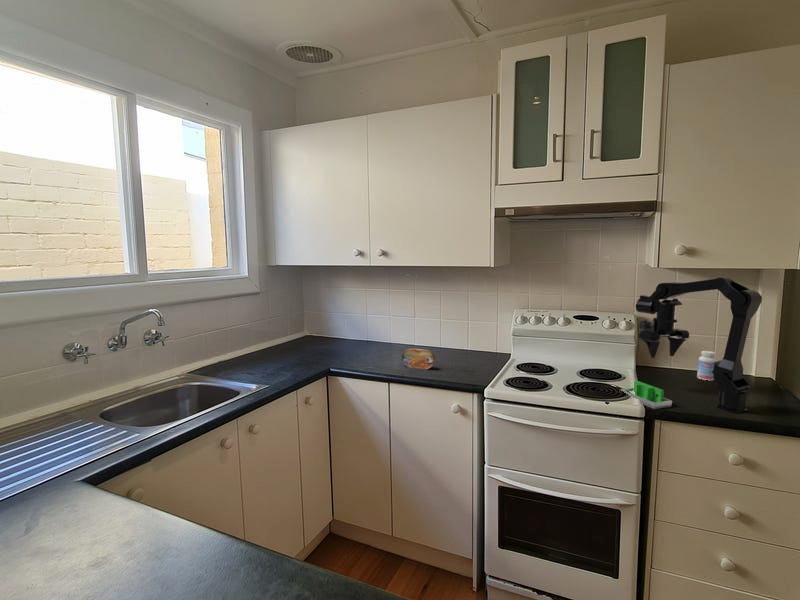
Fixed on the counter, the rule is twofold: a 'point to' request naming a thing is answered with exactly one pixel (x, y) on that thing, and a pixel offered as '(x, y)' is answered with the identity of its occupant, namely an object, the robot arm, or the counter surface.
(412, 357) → the tin
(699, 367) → the pill bottle
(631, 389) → the grey rectangular tray
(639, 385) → the pipe clamp
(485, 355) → the counter surface
